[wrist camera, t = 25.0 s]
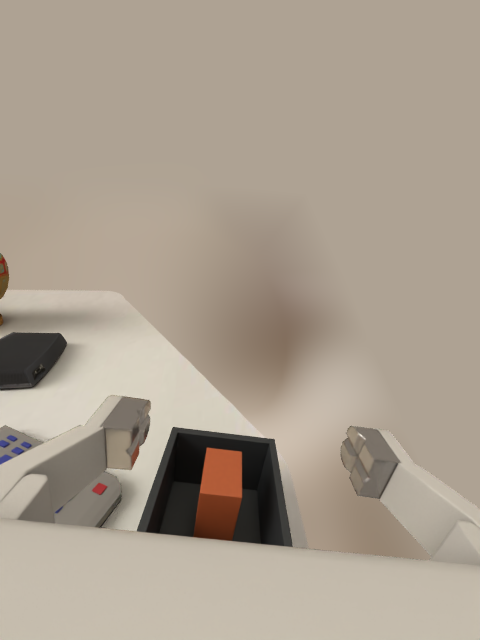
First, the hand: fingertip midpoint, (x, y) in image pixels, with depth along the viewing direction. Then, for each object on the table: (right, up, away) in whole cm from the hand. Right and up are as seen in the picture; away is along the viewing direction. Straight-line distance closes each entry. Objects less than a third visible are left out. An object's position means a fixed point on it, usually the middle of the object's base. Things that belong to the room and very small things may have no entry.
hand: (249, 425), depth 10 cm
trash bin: (-4, -22, +19) cm, 29 cm away
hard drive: (-50, -6, +43) cm, 66 cm away
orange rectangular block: (-4, -21, +18) cm, 28 cm away
